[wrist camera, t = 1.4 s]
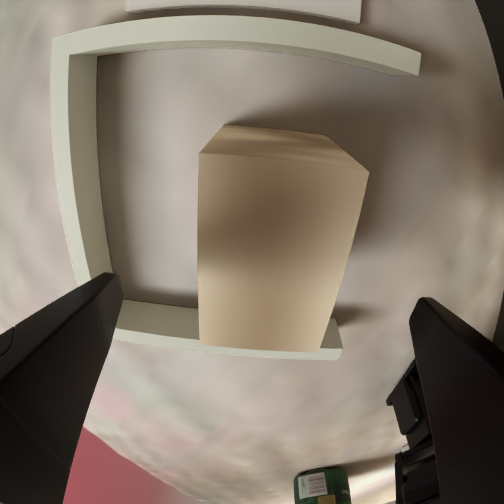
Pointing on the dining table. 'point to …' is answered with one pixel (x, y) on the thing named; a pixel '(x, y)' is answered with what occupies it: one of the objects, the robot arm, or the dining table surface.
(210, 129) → the dining table surface
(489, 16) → the food platter
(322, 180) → the block
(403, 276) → the dining table surface
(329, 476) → the coffee jar
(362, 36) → the open square frame
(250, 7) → the rubber mat
